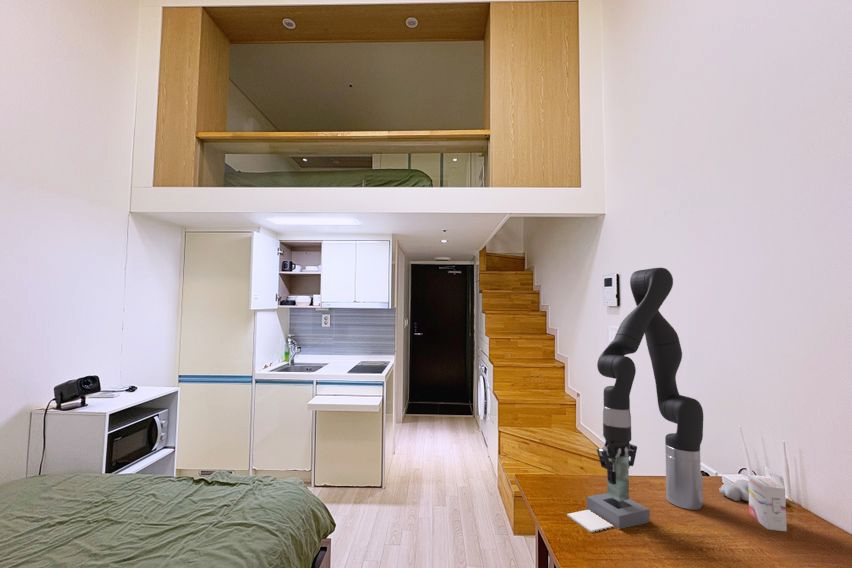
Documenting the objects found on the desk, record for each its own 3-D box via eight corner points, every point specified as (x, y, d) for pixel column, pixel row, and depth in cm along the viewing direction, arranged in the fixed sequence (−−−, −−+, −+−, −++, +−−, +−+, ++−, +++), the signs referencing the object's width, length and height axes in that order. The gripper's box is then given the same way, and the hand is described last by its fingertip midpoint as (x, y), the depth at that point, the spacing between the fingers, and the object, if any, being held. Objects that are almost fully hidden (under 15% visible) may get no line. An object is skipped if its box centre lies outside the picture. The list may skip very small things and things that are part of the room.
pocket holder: (615, 502, 119) (615, 491, 119) (649, 522, 108) (649, 509, 108) (586, 508, 114) (586, 496, 115) (619, 529, 104) (619, 516, 104)
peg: (617, 493, 114) (616, 451, 115) (629, 499, 110) (628, 456, 111) (607, 495, 113) (606, 453, 114) (618, 501, 109) (618, 458, 110)
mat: (588, 511, 113) (588, 509, 113) (613, 527, 105) (613, 525, 105) (567, 515, 110) (567, 513, 110) (591, 532, 102) (591, 530, 102)
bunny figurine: (711, 479, 130) (753, 474, 130) (713, 494, 129) (755, 489, 130) (735, 492, 120) (780, 486, 121) (738, 508, 120) (782, 503, 121)
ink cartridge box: (747, 514, 114) (746, 463, 115) (767, 516, 113) (765, 465, 114) (767, 529, 106) (765, 475, 107) (788, 532, 105) (785, 477, 106)
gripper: (623, 417, 119) (624, 473, 118) (588, 421, 114) (589, 480, 113) (645, 424, 112) (646, 484, 111) (609, 428, 107) (610, 491, 106)
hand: (617, 482), depth 112 cm, fingers closed on peg, 4 cm apart
